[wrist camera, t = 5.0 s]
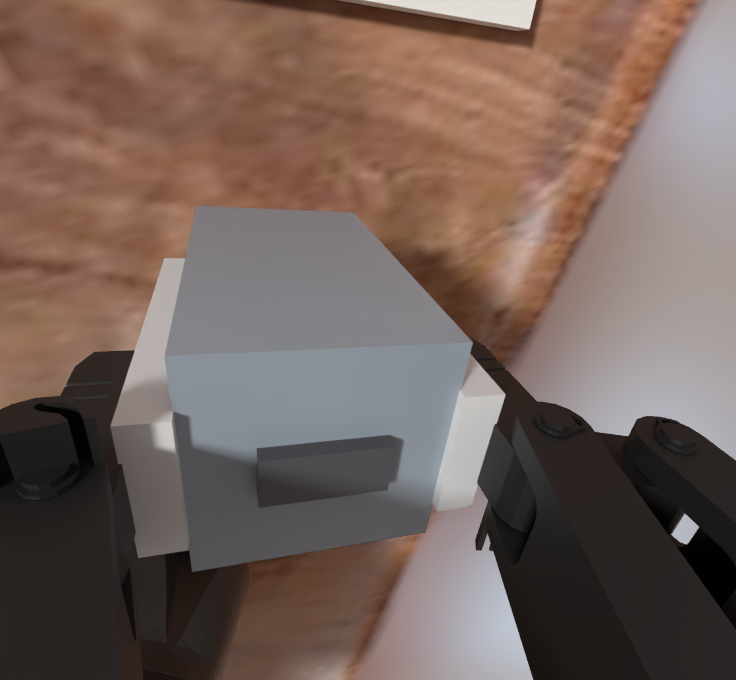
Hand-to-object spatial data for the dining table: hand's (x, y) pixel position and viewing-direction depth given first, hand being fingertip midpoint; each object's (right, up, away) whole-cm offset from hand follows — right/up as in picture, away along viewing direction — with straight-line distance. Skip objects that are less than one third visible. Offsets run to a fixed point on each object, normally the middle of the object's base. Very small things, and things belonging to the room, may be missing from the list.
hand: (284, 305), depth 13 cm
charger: (-1, +1, +1) cm, 2 cm away
